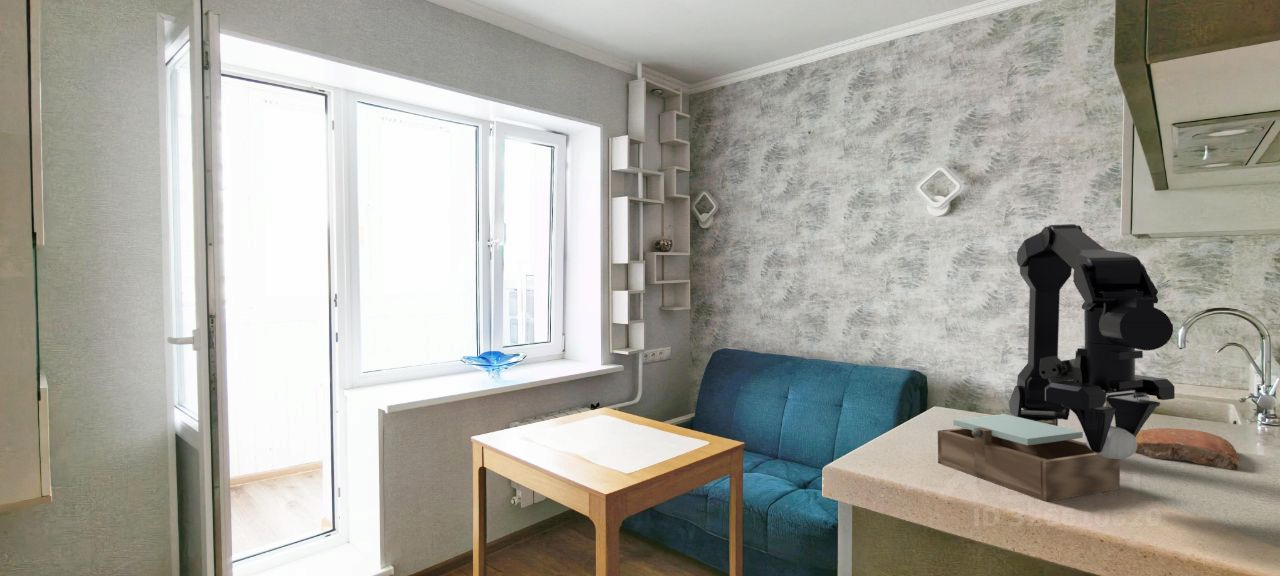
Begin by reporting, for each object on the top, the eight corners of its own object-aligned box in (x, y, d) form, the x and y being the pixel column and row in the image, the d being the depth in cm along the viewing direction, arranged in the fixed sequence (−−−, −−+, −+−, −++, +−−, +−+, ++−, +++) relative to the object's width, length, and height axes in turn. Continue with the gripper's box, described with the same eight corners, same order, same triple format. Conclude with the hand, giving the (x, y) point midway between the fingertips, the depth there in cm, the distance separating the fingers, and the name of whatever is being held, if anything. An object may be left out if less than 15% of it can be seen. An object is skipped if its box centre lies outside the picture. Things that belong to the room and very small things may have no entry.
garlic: (1081, 457, 86) (1081, 421, 86) (1087, 449, 90) (1086, 415, 90) (1135, 465, 82) (1135, 428, 82) (1138, 457, 86) (1138, 421, 86)
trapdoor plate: (1004, 419, 109) (1004, 413, 109) (1082, 437, 95) (1082, 431, 95) (953, 425, 105) (953, 419, 105) (1027, 445, 91) (1027, 438, 91)
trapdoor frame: (1008, 453, 111) (1007, 410, 111) (1124, 487, 92) (1123, 435, 92) (933, 463, 106) (933, 418, 105) (1041, 502, 87) (1040, 447, 86)
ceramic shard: (1125, 414, 120) (1228, 436, 111) (1120, 446, 120) (1222, 470, 111) (1130, 418, 108) (1245, 443, 99) (1124, 453, 108) (1238, 481, 99)
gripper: (1096, 335, 96) (1096, 430, 96) (1010, 340, 90) (1011, 442, 90) (1176, 341, 86) (1177, 448, 86) (1085, 348, 80) (1086, 463, 80)
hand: (1110, 449), depth 86 cm, fingers closed on garlic, 5 cm apart
